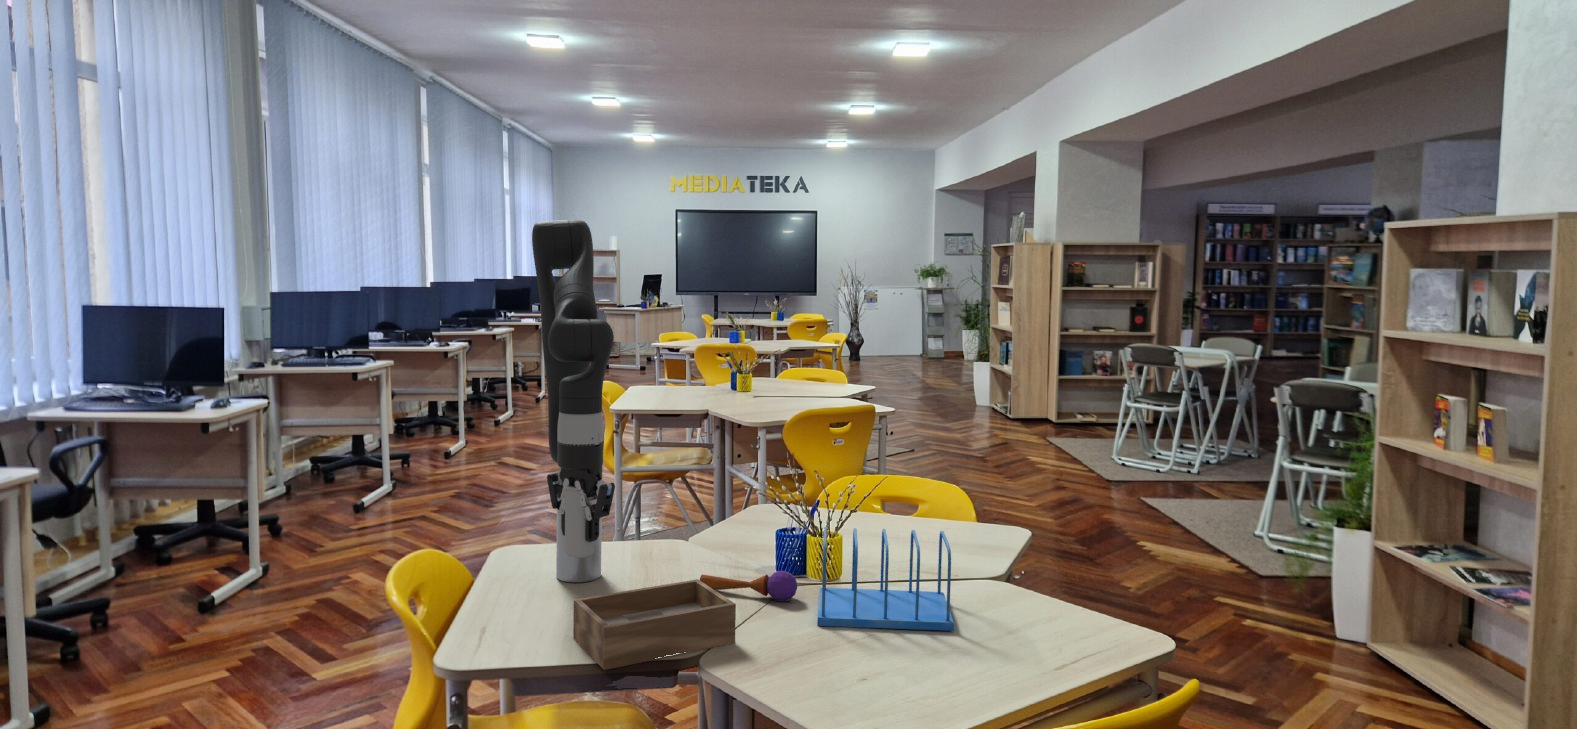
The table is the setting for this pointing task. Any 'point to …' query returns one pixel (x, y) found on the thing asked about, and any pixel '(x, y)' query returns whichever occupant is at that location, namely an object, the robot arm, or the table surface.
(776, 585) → the purple maraca
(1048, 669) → the table surface
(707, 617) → the box
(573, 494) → the beverage can
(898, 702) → the table surface
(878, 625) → the file sorter
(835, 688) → the table surface
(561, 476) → the robot arm
